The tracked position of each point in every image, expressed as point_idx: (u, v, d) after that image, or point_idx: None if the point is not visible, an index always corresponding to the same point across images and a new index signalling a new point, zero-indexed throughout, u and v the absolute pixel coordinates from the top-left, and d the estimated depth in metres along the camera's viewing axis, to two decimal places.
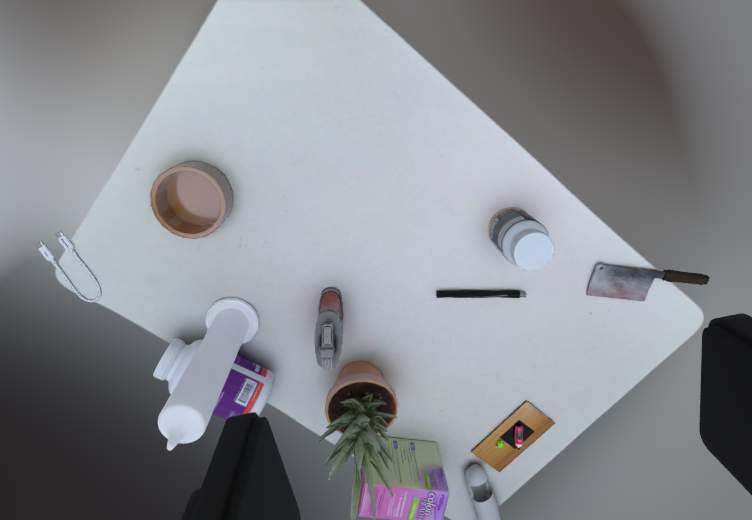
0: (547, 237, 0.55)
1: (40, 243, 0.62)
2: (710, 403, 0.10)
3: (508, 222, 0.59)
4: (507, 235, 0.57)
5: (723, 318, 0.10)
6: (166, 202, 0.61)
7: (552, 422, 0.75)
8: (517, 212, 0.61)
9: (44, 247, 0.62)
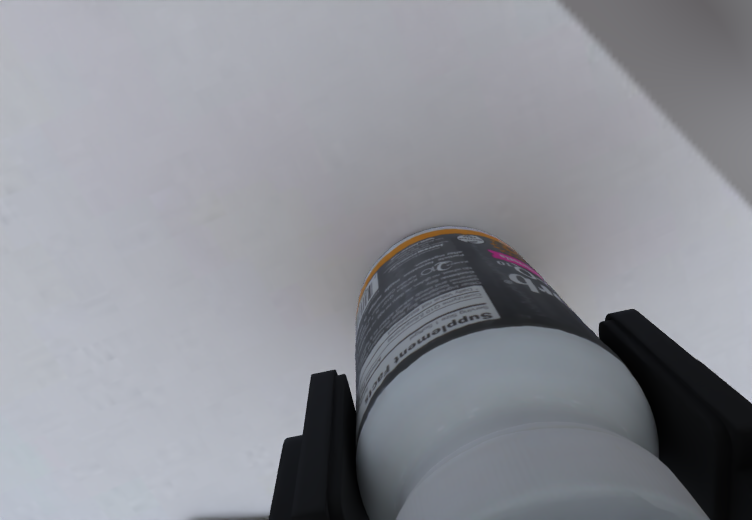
0: None
1: None
2: None
3: (402, 322, 0.10)
4: (378, 426, 0.09)
5: (615, 313, 0.10)
6: None
7: None
8: (465, 255, 0.12)
9: None
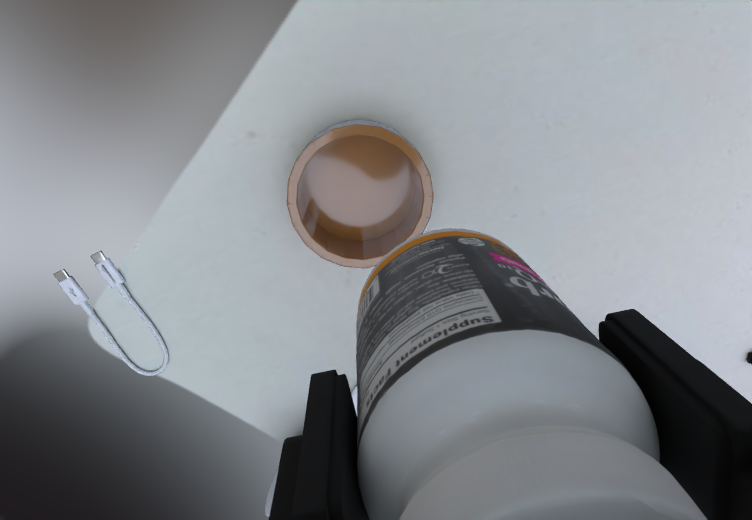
0: None
1: (63, 274, 0.34)
2: None
3: (403, 325, 0.10)
4: (380, 429, 0.09)
5: (615, 313, 0.10)
6: (303, 198, 0.32)
7: None
8: (466, 258, 0.12)
9: (70, 280, 0.34)
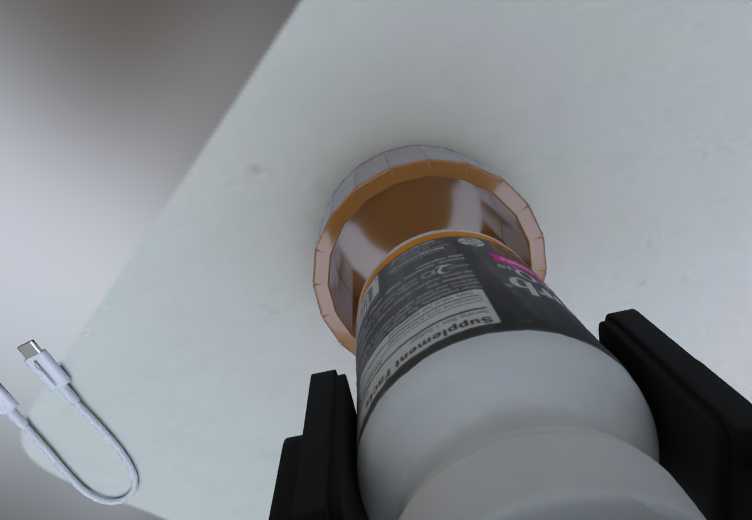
0: None
1: None
2: None
3: (403, 326, 0.10)
4: (378, 430, 0.09)
5: (614, 313, 0.10)
6: (334, 265, 0.21)
7: None
8: (466, 258, 0.12)
9: None
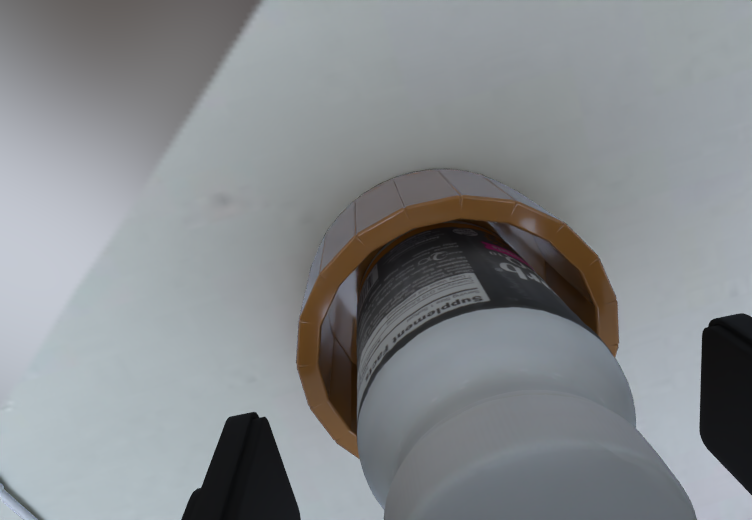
0: (653, 476, 0.07)
1: None
2: (710, 403, 0.10)
3: (400, 306, 0.11)
4: (377, 398, 0.09)
5: (723, 318, 0.10)
6: (327, 325, 0.16)
7: None
8: (460, 246, 0.13)
9: None
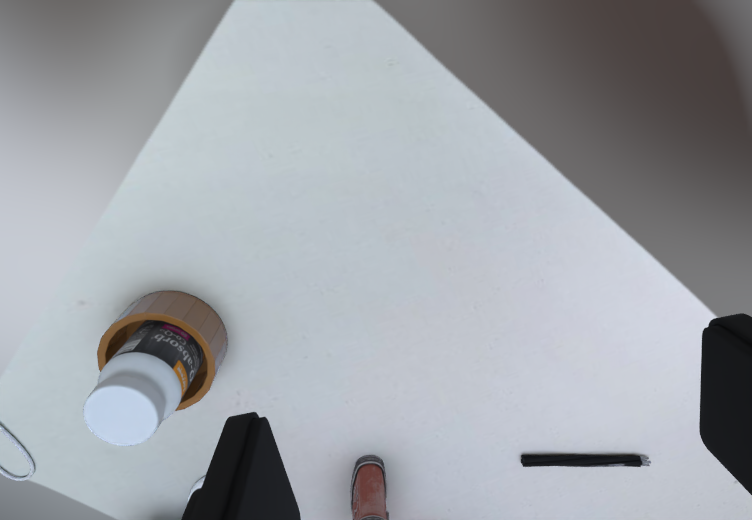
0: (136, 393, 0.31)
1: None
2: (710, 403, 0.10)
3: (119, 349, 0.35)
4: None
5: (723, 318, 0.10)
6: None
7: None
8: (153, 326, 0.37)
9: None
